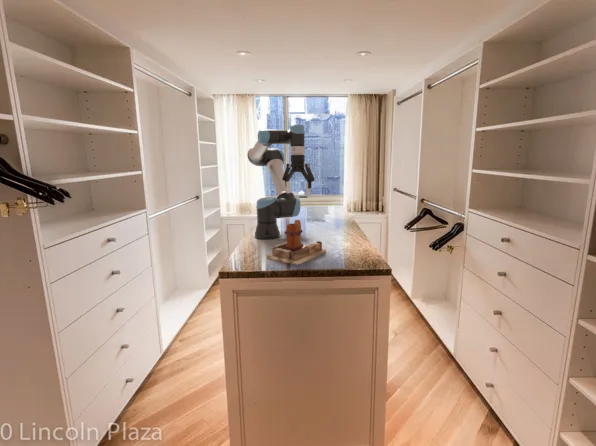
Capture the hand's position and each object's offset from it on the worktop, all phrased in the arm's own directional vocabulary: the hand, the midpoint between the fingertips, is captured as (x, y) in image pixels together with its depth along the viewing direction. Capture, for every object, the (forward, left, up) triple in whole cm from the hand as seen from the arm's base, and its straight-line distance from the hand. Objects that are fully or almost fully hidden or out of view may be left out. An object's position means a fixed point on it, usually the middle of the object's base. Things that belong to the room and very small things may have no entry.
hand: (298, 193), depth 178 cm
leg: (+21, -16, -25) cm, 37 cm away
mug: (+14, -22, -25) cm, 37 cm away
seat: (+15, -22, -27) cm, 38 cm away
